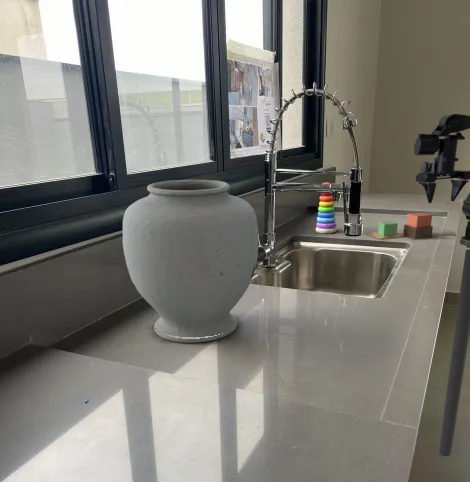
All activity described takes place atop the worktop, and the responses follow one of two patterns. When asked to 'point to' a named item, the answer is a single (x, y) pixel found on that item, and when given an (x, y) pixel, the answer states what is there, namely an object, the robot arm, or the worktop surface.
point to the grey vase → (191, 255)
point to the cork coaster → (384, 237)
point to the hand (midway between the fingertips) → (441, 202)
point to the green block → (387, 228)
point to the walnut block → (418, 232)
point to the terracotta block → (419, 219)
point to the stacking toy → (326, 214)
